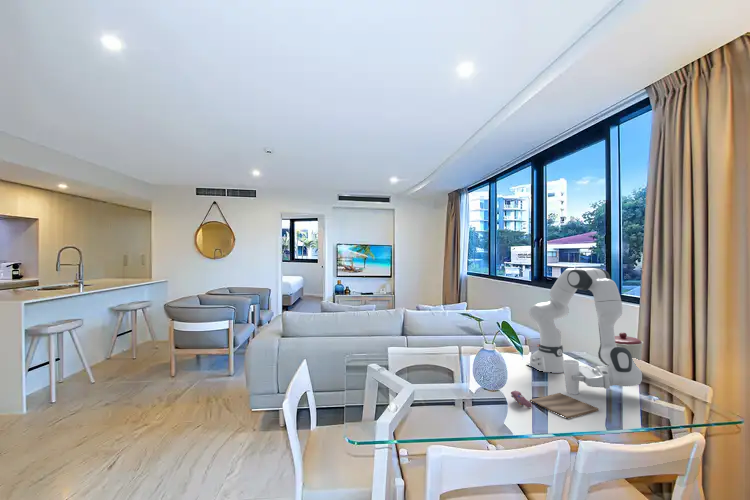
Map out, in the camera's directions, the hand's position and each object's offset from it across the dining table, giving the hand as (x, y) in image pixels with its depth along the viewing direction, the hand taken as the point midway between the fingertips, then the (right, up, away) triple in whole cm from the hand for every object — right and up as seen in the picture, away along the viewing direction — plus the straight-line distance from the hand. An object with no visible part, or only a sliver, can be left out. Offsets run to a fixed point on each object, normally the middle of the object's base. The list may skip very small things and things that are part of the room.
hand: (569, 375), depth 174 cm
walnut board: (-11, -9, -14) cm, 20 cm away
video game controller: (-27, -10, -10) cm, 31 cm away
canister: (+46, -7, +28) cm, 54 cm away
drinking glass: (+1, -9, 0) cm, 9 cm away
